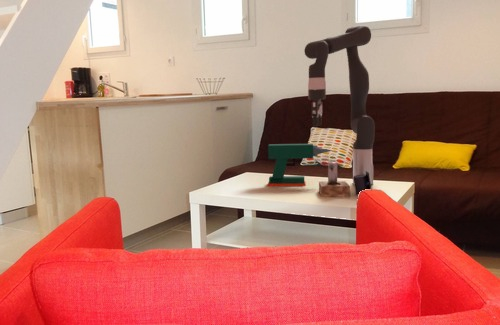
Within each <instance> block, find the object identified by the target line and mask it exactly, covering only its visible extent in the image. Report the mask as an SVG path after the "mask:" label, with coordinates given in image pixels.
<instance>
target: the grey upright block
mask: <svg viewBox="0 0 500 325" xmlns="http://www.w3.org/2000/svg"><path fill="white" fill-rule="evenodd" d="M327 181H328V185H337V181H338V162H337V161H335V162H334V161H329V162H327Z"/></svg>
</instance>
